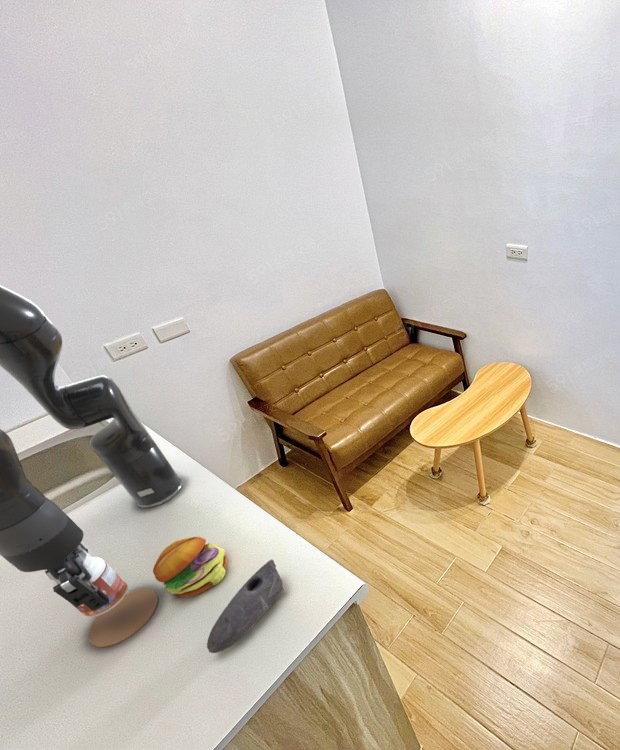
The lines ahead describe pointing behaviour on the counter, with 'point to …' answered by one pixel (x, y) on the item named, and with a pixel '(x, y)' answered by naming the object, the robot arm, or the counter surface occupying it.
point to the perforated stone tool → (246, 608)
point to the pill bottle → (103, 584)
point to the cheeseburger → (190, 566)
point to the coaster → (124, 618)
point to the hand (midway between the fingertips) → (98, 591)
